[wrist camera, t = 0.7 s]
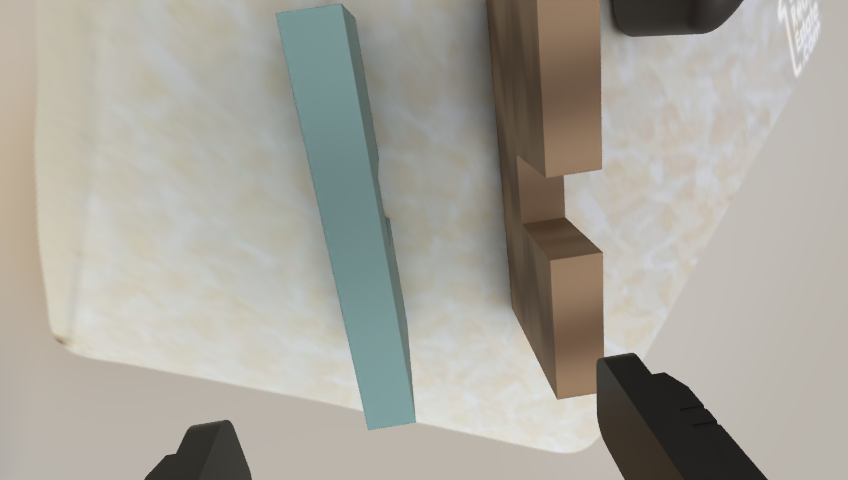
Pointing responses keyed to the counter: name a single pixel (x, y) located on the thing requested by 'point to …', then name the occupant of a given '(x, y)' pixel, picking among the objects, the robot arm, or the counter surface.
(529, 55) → the brown flat u-shaped block
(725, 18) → the black rounded block
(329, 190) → the teal plate
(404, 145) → the counter surface
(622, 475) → the robot arm
